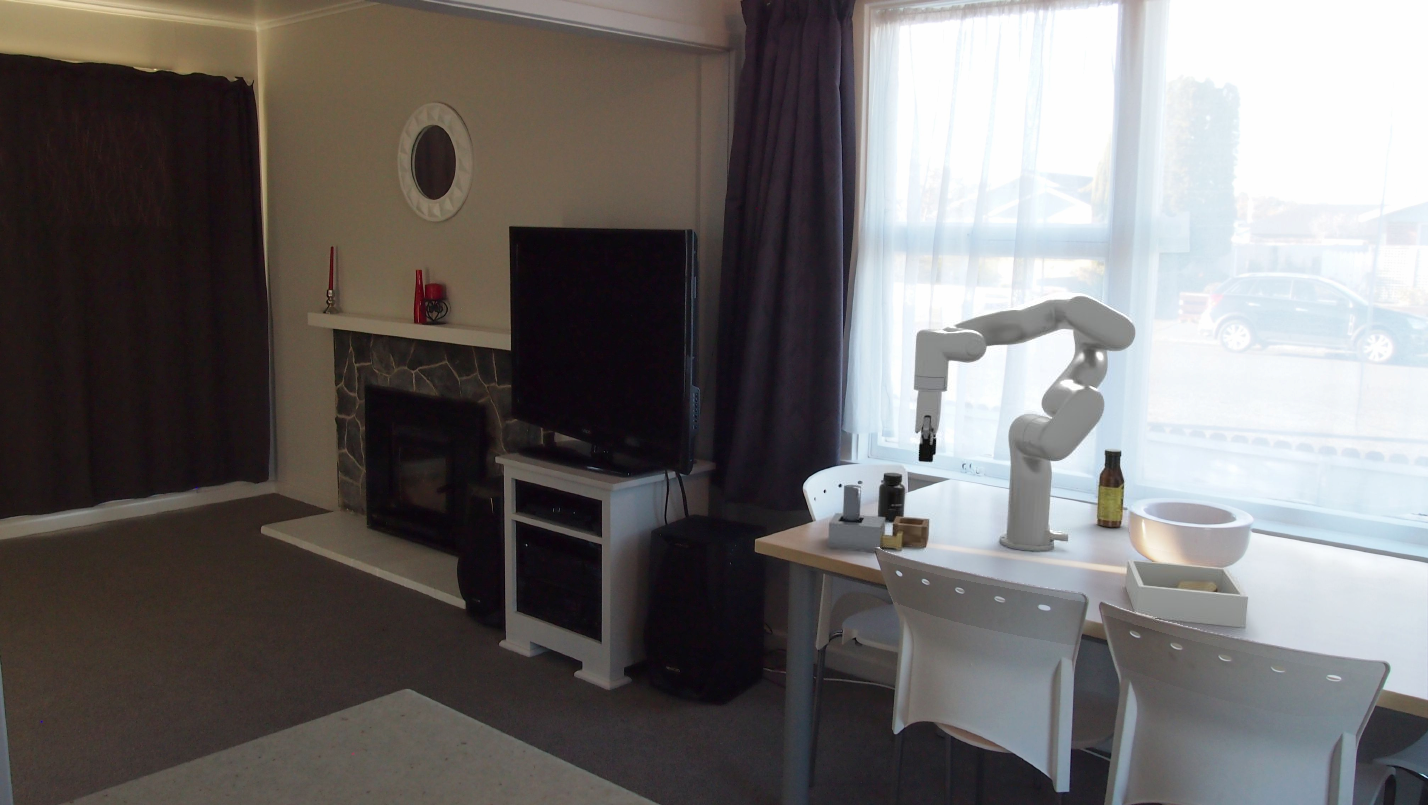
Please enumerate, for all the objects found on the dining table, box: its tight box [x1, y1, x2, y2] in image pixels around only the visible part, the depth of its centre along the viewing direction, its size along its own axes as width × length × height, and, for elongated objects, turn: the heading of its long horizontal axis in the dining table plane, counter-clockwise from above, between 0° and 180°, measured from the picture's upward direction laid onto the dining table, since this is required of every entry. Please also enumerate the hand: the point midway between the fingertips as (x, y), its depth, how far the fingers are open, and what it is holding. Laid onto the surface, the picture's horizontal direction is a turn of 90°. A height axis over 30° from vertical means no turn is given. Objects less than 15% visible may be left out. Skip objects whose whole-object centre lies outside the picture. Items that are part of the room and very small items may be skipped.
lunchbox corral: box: [1125, 559, 1249, 629], centre depth 202 cm, size 19×19×6 cm
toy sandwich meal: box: [1156, 581, 1217, 592], centre depth 204 cm, size 12×14×5 cm
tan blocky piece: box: [881, 531, 904, 551], centre depth 241 cm, size 9×4×4 cm, turn 74°
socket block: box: [827, 512, 886, 553], centre depth 242 cm, size 12×10×6 cm
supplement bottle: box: [877, 472, 906, 522], centre depth 267 cm, size 7×7×12 cm
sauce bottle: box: [1096, 448, 1125, 528], centre depth 264 cm, size 7×6×20 cm
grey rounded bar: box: [842, 484, 862, 523], centre depth 242 cm, size 4×4×14 cm
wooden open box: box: [891, 516, 930, 549], centre depth 246 cm, size 8×8×5 cm
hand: (927, 457), depth 236 cm, fingers open, 8 cm apart
